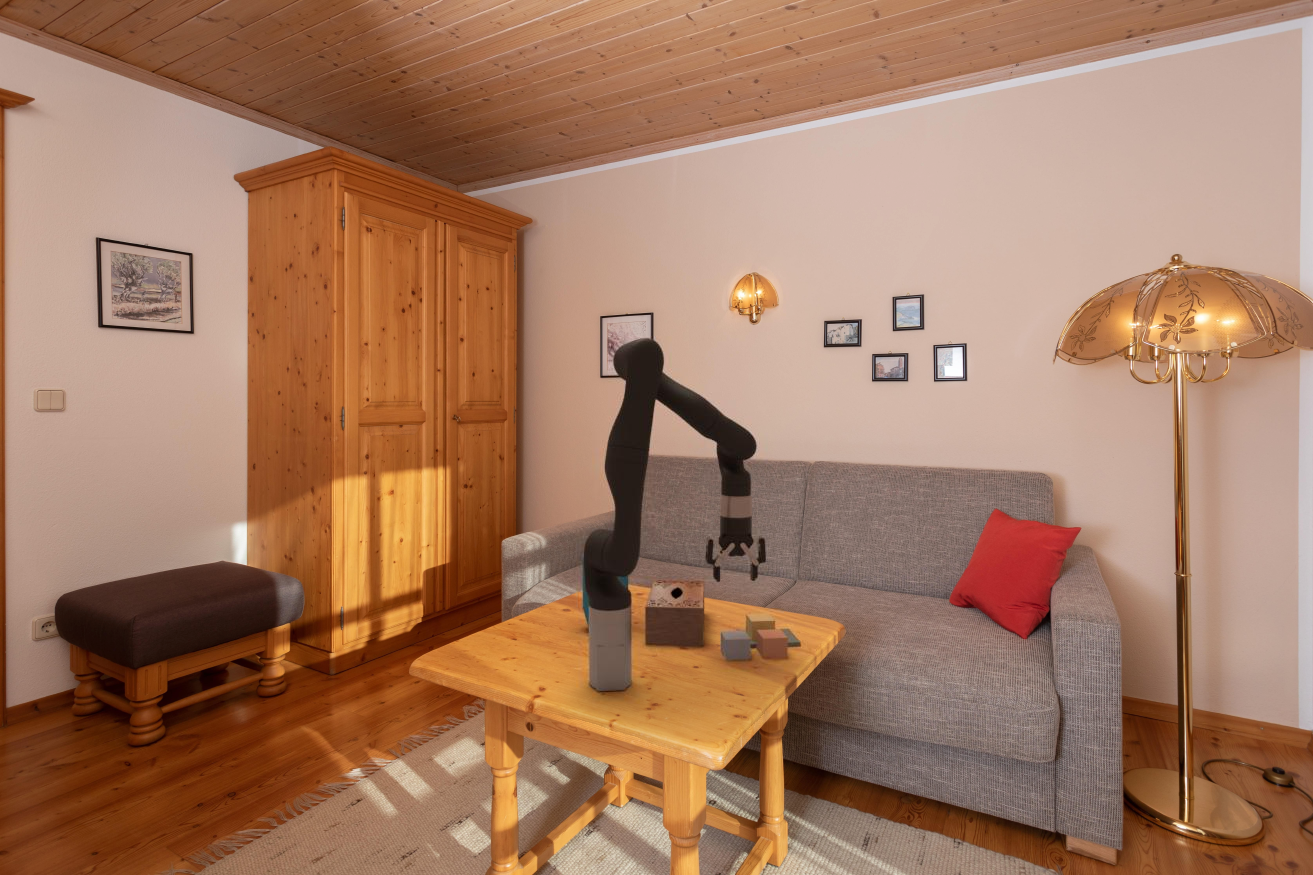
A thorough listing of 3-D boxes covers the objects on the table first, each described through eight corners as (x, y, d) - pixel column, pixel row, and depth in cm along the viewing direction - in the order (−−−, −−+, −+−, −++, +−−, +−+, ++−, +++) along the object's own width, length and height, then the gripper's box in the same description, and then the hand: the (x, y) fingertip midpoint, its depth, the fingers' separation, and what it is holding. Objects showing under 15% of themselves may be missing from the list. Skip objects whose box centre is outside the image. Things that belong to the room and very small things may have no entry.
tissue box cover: (653, 613, 196) (653, 579, 196) (704, 614, 195) (704, 580, 195) (645, 646, 171) (645, 606, 170) (703, 647, 170) (703, 608, 169)
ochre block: (774, 640, 171) (775, 620, 171) (751, 640, 171) (751, 621, 170) (768, 631, 177) (768, 612, 177) (745, 632, 177) (746, 613, 176)
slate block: (750, 659, 162) (750, 638, 161) (725, 660, 161) (725, 639, 161) (744, 650, 168) (744, 630, 167) (720, 651, 167) (720, 631, 167)
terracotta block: (787, 658, 163) (787, 637, 162) (762, 659, 162) (763, 638, 162) (780, 648, 168) (780, 629, 168) (756, 649, 168) (756, 629, 168)
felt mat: (800, 645, 170) (800, 641, 170) (745, 648, 169) (745, 644, 169) (788, 632, 180) (788, 628, 180) (736, 634, 179) (736, 630, 178)
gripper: (709, 516, 158) (709, 585, 159) (769, 515, 159) (768, 584, 160) (703, 511, 165) (703, 577, 166) (761, 510, 167) (760, 575, 168)
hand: (735, 580), depth 163 cm, fingers open, 8 cm apart
